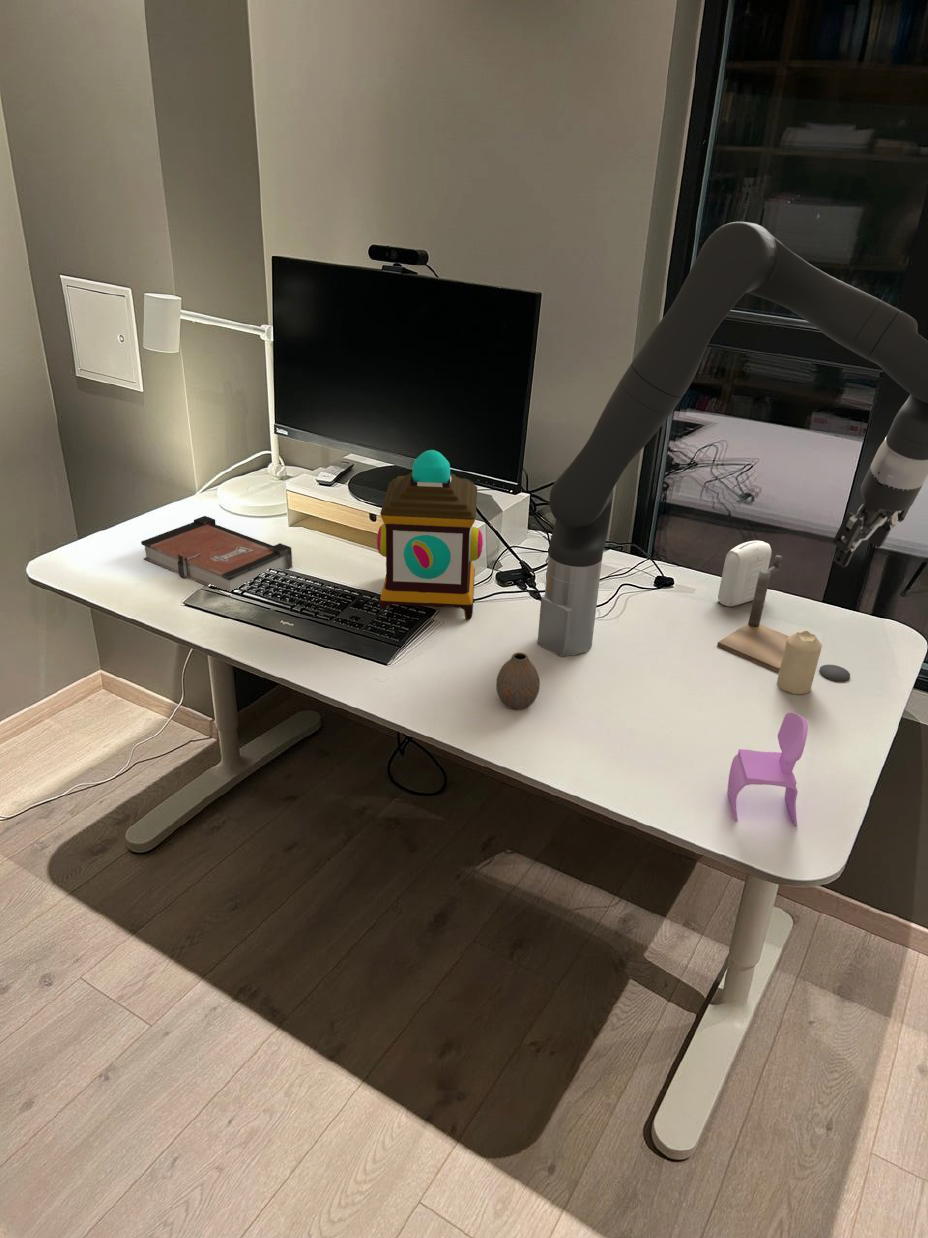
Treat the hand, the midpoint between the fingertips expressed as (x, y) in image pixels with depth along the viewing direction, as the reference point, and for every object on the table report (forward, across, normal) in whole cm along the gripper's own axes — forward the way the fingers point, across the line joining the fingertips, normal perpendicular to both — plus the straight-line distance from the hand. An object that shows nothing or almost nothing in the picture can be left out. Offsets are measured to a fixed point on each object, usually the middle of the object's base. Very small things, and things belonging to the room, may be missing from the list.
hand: (857, 553), depth 140 cm
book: (+38, +74, -89) cm, 122 cm away
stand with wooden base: (+28, +1, -7) cm, 29 cm away
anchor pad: (+24, -1, +6) cm, 25 cm away
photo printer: (+34, -8, -21) cm, 40 cm away
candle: (+24, +9, +4) cm, 25 cm away
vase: (+22, +51, -18) cm, 58 cm away
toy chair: (+14, +38, +20) cm, 45 cm away
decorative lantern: (+33, +45, -54) cm, 77 cm away
